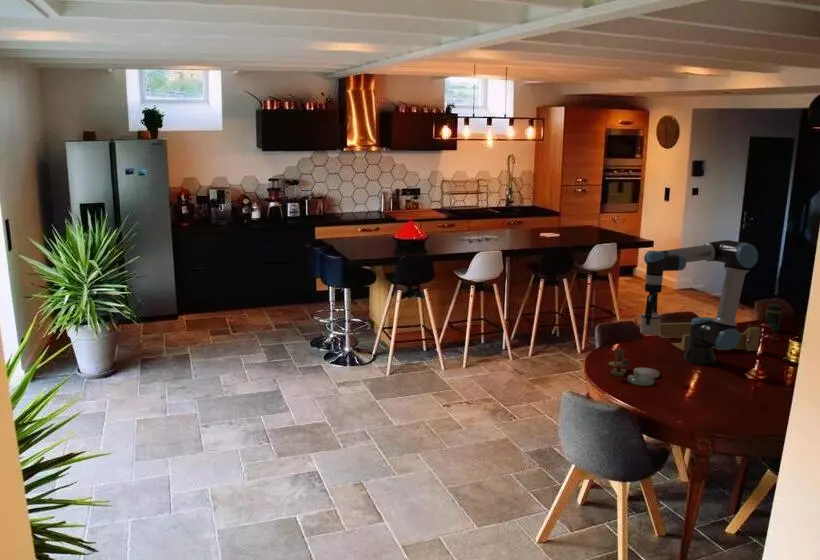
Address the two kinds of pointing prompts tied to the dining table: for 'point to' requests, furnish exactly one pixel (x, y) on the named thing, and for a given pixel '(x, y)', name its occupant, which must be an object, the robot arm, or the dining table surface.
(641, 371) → the dish
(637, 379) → the dish
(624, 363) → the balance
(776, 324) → the coffee jar
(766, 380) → the dining table surface
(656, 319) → the teacup with lid
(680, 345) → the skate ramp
